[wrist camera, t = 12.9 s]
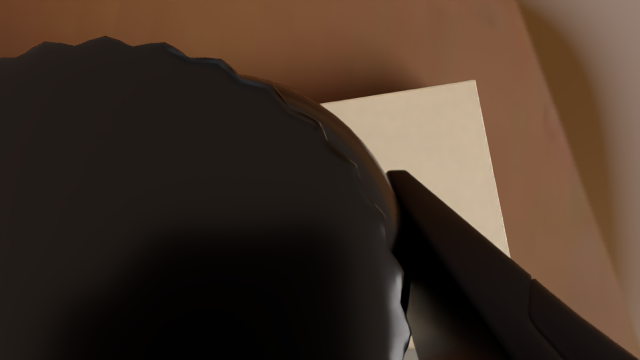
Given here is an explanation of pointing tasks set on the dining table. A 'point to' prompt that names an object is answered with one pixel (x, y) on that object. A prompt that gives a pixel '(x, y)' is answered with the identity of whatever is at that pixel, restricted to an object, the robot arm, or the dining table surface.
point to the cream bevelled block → (433, 149)
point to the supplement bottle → (188, 215)
